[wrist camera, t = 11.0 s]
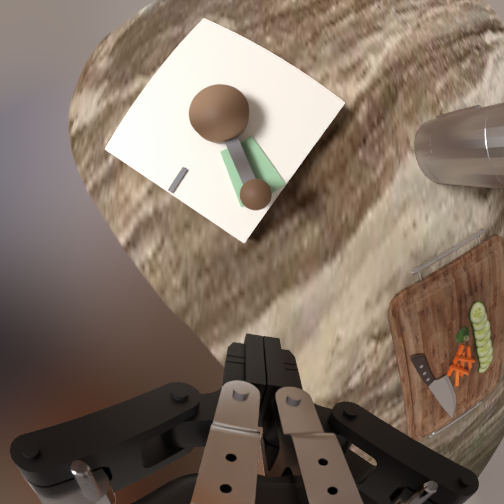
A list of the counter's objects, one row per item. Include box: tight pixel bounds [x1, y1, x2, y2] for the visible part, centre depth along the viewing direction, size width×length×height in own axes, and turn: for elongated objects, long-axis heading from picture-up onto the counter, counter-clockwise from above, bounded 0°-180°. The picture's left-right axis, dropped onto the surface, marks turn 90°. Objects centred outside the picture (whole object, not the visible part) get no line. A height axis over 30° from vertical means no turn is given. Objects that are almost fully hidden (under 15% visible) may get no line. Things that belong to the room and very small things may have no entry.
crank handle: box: [189, 84, 272, 210], centre depth 26 cm, size 13×6×7 cm, turn 23°
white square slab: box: [105, 18, 345, 243], centre depth 30 cm, size 20×20×3 cm
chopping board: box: [388, 228, 504, 441], centre depth 40 cm, size 45×27×3 cm, turn 24°
